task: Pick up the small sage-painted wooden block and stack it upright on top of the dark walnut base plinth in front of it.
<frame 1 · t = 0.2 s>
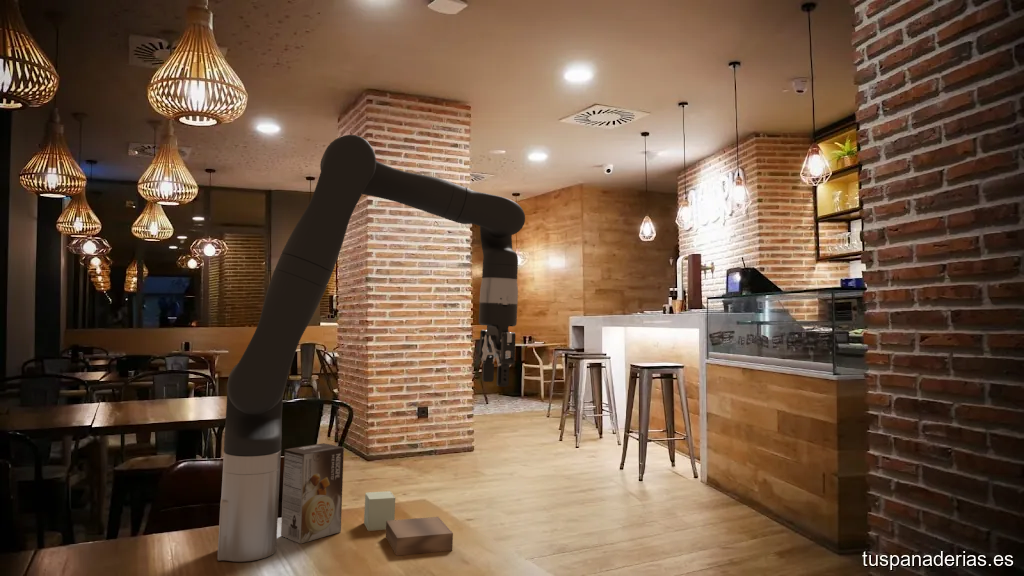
hand: (494, 383, 132), 29 cm above the table, tool pointing down, fingers open, 8 cm apart
coffee box: (310, 535, 125), on the table
sage block: (378, 526, 131), on the table
walnut plinth: (418, 543, 122), on the table
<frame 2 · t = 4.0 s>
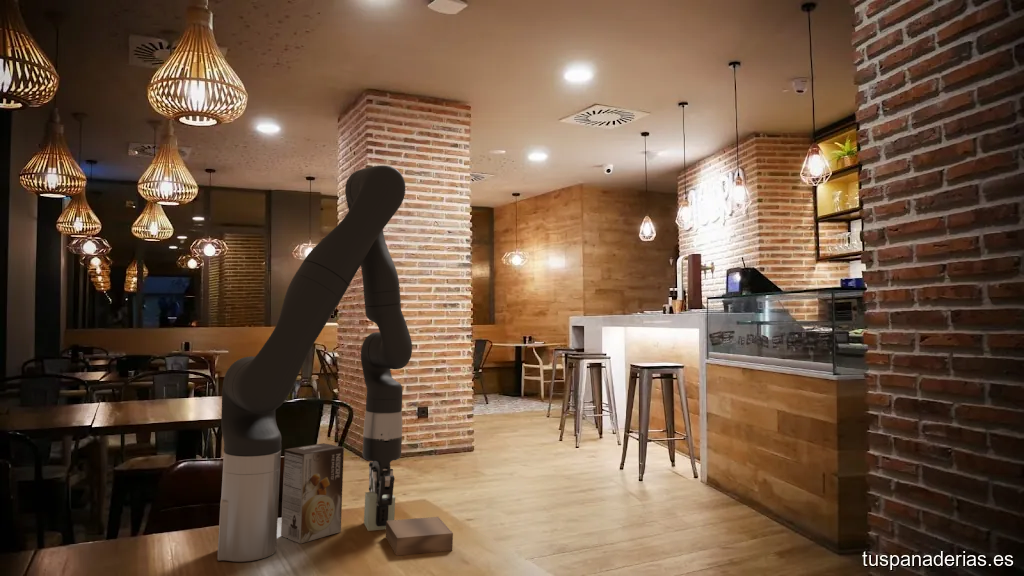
hand: (379, 520, 131), 1 cm above the table, tool pointing down, fingers closed on sage block, 5 cm apart
sage block: (378, 525, 131), on the table, touching gripper
everything else where it was.
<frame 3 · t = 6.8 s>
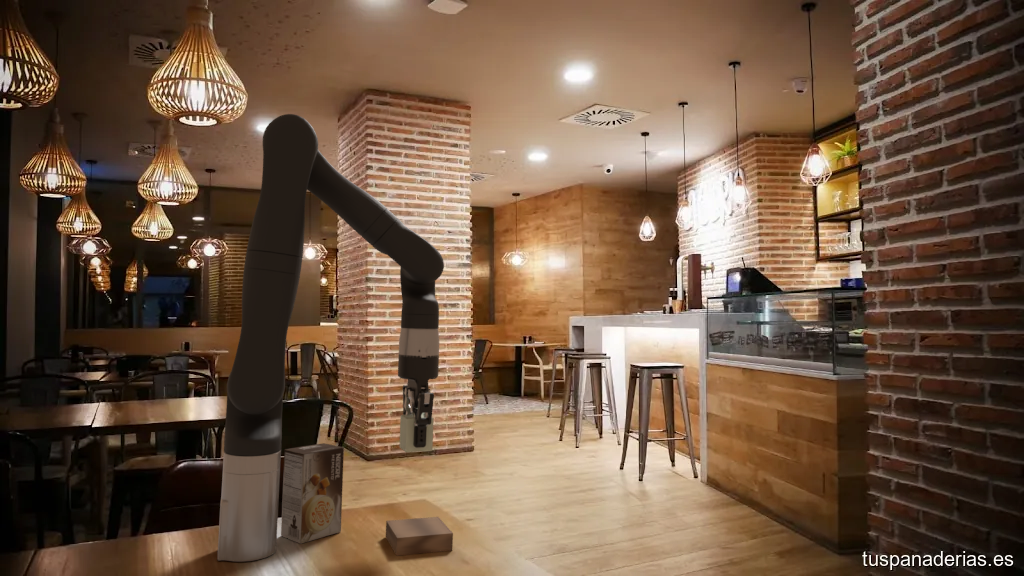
hand: (415, 443, 125), 18 cm above the table, tool pointing down, fingers closed on sage block, 5 cm apart
sage block: (415, 448, 125), point 17 cm above the table, touching gripper
everything else where it was.
when the fingers open (5 cm above the table, at t = 9.5 s): sage block stays where it is, resting on walnut plinth.
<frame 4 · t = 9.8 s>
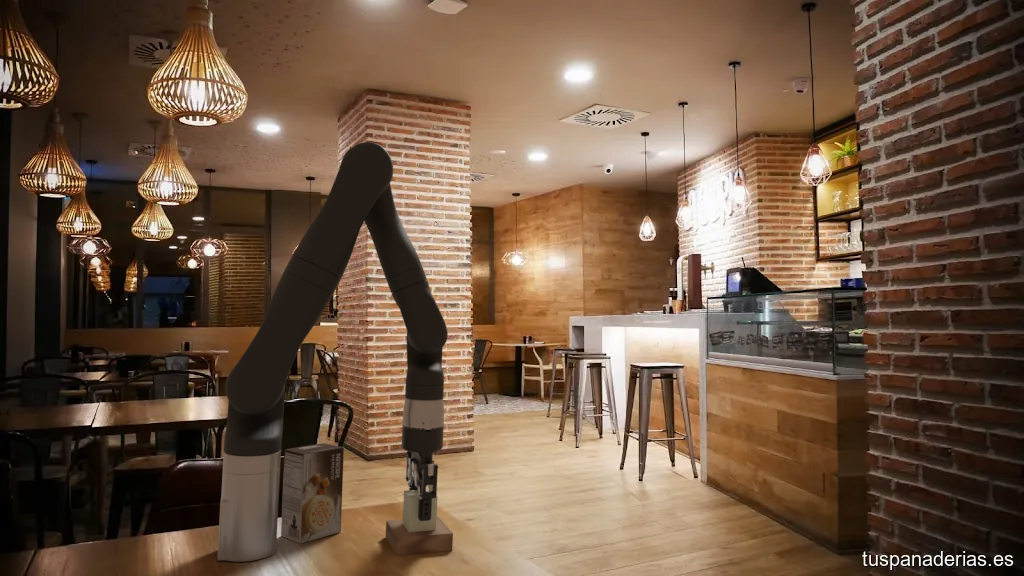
hand: (419, 513, 122), 5 cm above the table, tool pointing down, fingers open, 7 cm apart
sage block: (419, 526, 122), point 3 cm above the table, touching walnut plinth
everything else where it was.
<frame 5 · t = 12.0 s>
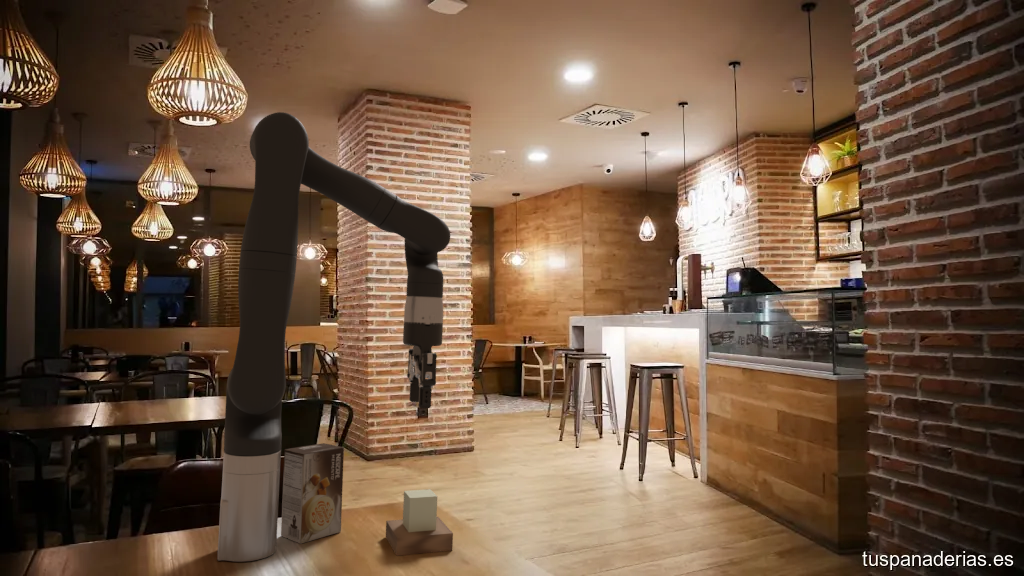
hand: (419, 404, 129), 24 cm above the table, tool pointing down, fingers open, 8 cm apart
nothing on the table moved.
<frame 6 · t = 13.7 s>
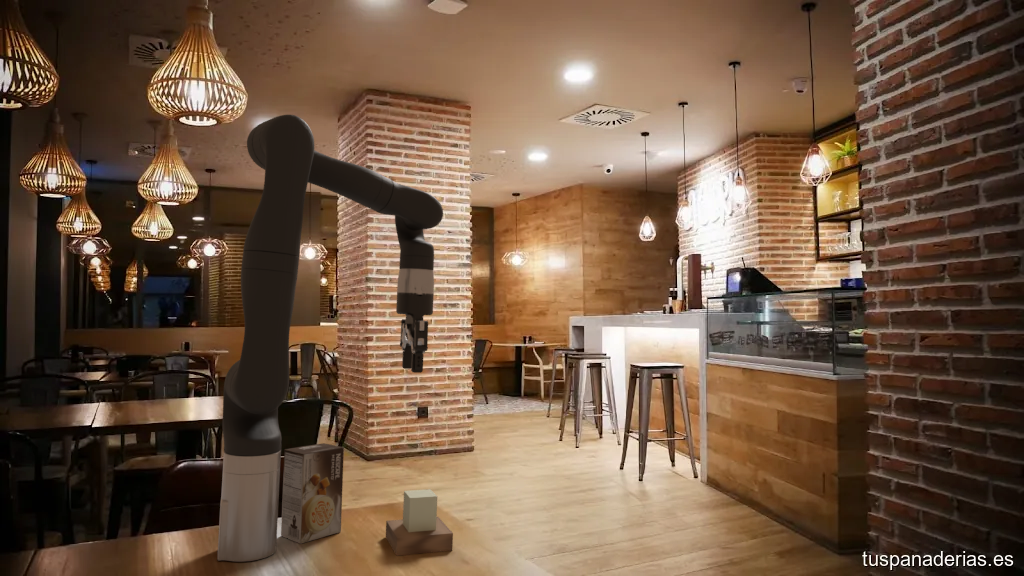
hand: (412, 370, 137), 30 cm above the table, tool pointing down, fingers open, 8 cm apart
nothing on the table moved.
at the end: sage block inside the target area on the walnut plinth (0.0 cm from its centre), point 3.0 cm above the walnut plinth's base; sage block tilted 0°; the gripper is holding nothing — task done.
